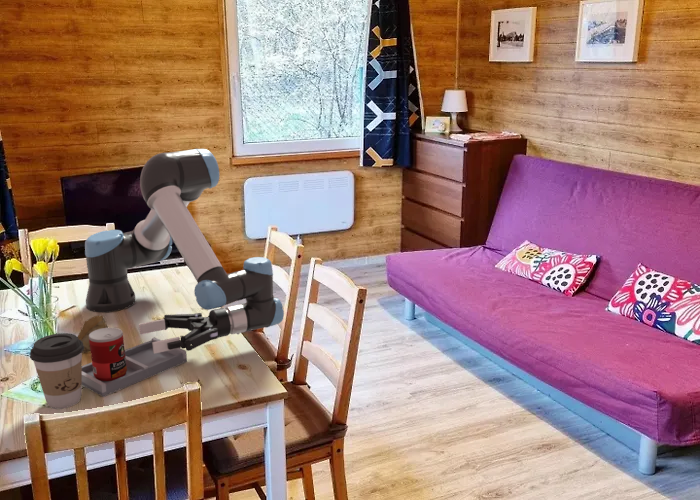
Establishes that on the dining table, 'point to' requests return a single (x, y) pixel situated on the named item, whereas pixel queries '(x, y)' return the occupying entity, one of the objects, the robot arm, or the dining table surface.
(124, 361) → the canned food
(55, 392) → the coffee cup
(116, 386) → the tray
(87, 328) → the rock
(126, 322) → the dining table surface
